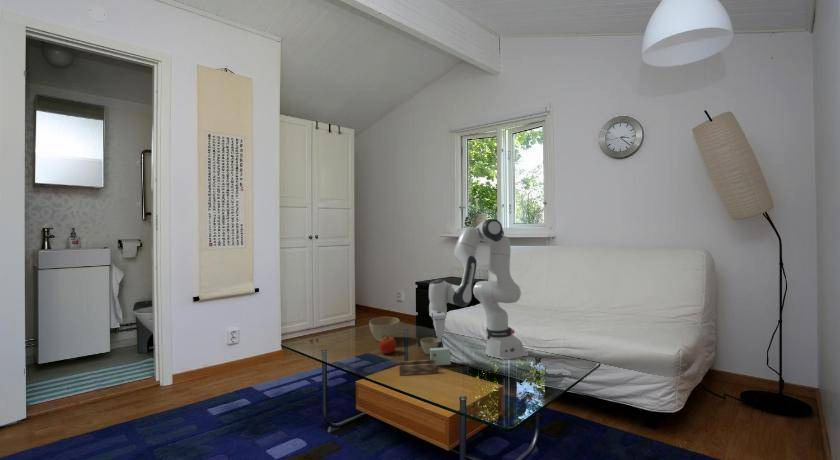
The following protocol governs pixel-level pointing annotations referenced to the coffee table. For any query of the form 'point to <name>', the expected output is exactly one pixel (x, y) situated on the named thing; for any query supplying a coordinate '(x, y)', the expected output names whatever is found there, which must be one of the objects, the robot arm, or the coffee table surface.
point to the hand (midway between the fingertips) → (438, 338)
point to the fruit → (387, 344)
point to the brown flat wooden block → (417, 367)
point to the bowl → (429, 344)
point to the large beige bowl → (384, 327)
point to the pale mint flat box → (440, 355)
